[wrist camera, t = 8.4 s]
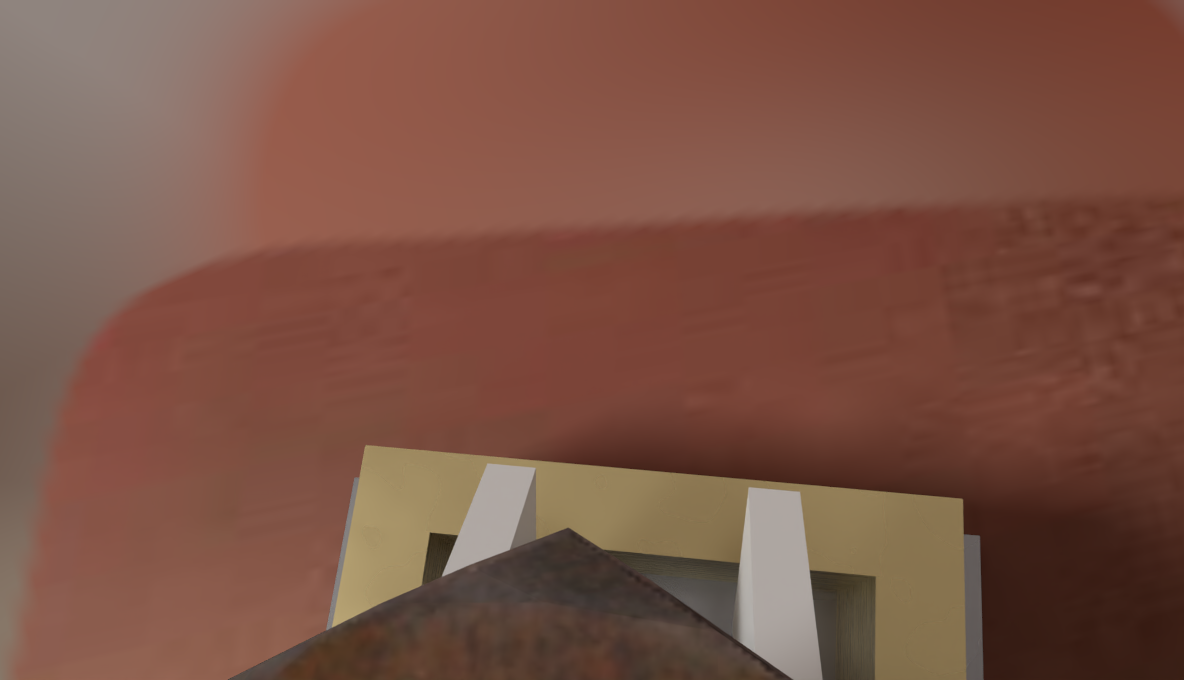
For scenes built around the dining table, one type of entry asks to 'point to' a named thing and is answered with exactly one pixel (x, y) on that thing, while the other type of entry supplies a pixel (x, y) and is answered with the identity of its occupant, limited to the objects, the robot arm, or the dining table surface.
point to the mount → (696, 551)
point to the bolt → (526, 627)
